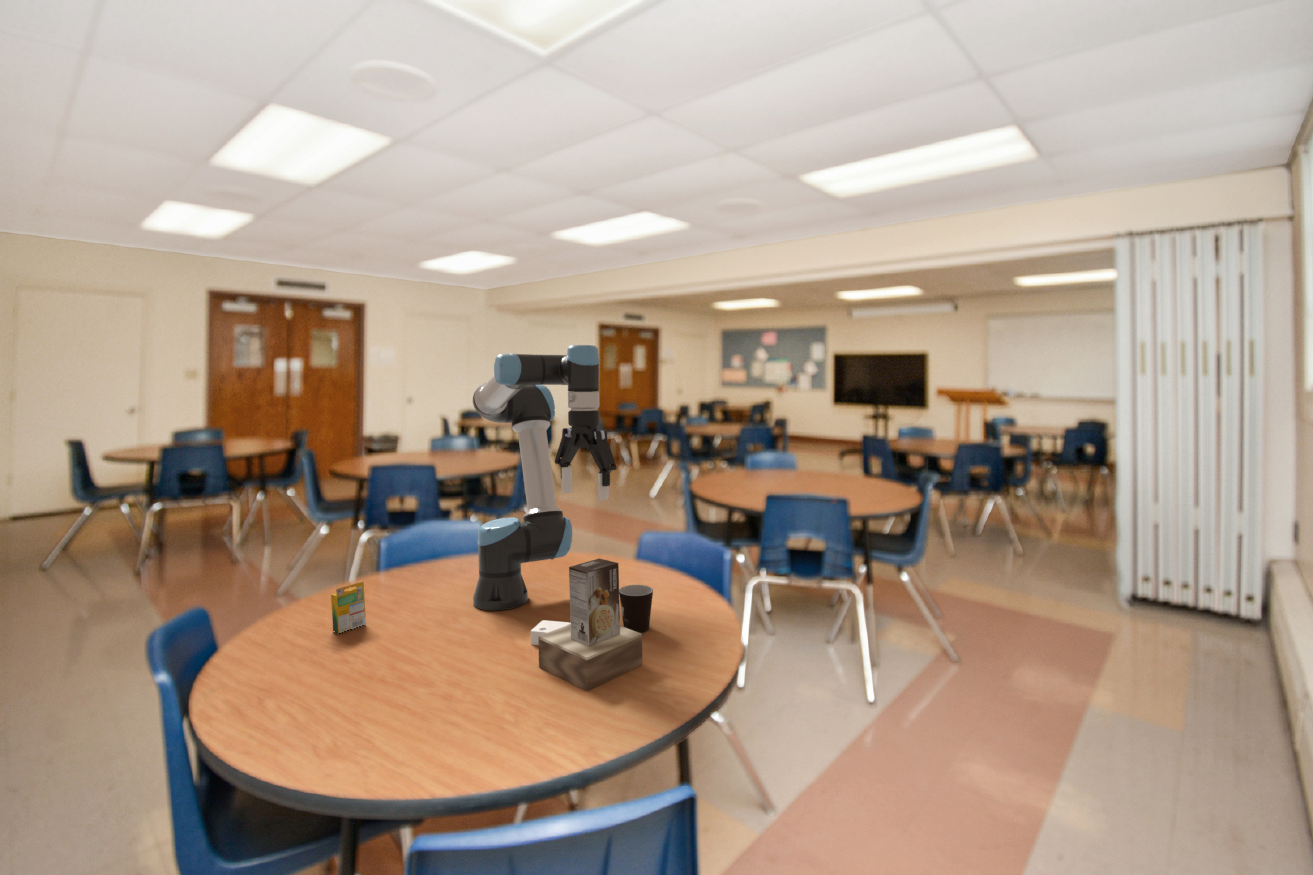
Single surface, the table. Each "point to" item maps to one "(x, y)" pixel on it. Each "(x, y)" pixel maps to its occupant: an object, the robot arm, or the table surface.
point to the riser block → (589, 656)
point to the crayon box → (348, 608)
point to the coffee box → (594, 601)
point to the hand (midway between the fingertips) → (584, 496)
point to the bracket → (545, 629)
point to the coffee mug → (636, 607)
